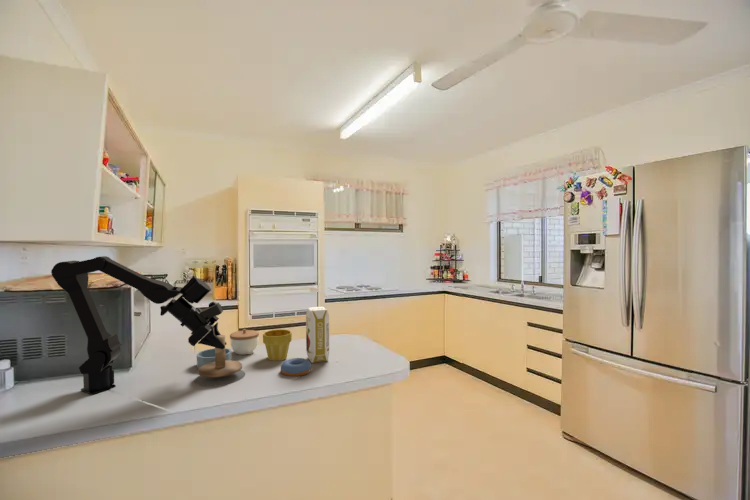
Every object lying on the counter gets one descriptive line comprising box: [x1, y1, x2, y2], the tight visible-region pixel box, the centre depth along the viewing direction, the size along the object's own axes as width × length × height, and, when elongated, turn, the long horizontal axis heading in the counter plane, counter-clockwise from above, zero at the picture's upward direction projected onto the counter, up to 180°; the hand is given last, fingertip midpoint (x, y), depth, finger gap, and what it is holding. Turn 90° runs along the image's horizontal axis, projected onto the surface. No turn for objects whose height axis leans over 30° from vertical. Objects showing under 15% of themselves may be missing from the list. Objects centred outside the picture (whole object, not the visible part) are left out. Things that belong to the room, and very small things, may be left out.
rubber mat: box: [194, 369, 246, 388], centre depth 118 cm, size 15×15×1 cm
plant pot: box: [262, 328, 293, 361], centre depth 137 cm, size 10×10×10 cm
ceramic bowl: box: [196, 347, 233, 370], centre depth 130 cm, size 11×11×4 cm
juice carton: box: [305, 306, 330, 364], centre depth 136 cm, size 8×9×19 cm
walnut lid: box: [197, 334, 243, 377], centre depth 118 cm, size 13×13×11 cm
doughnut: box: [280, 357, 312, 377], centre depth 123 cm, size 10×10×5 cm
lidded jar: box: [229, 328, 260, 355], centre depth 144 cm, size 11×11×9 cm
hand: (224, 346), depth 118 cm, fingers closed on walnut lid, 3 cm apart
